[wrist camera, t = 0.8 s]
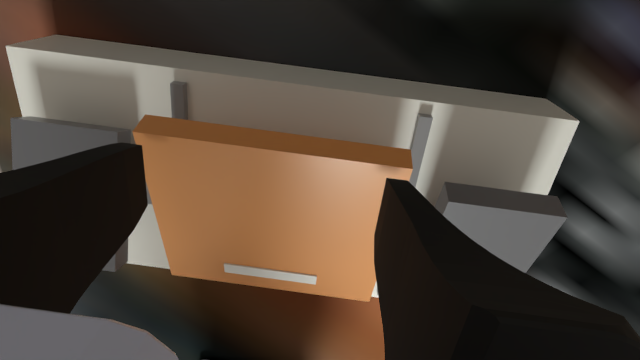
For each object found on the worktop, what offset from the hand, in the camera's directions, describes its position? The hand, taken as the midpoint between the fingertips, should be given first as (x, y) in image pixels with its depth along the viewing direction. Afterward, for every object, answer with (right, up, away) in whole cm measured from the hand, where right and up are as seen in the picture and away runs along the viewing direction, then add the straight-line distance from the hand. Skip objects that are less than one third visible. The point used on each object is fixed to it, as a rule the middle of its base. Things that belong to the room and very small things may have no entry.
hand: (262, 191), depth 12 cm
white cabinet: (0, +1, +8) cm, 8 cm away
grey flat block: (+8, -2, +4) cm, 9 cm away
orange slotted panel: (0, -1, +4) cm, 4 cm away
